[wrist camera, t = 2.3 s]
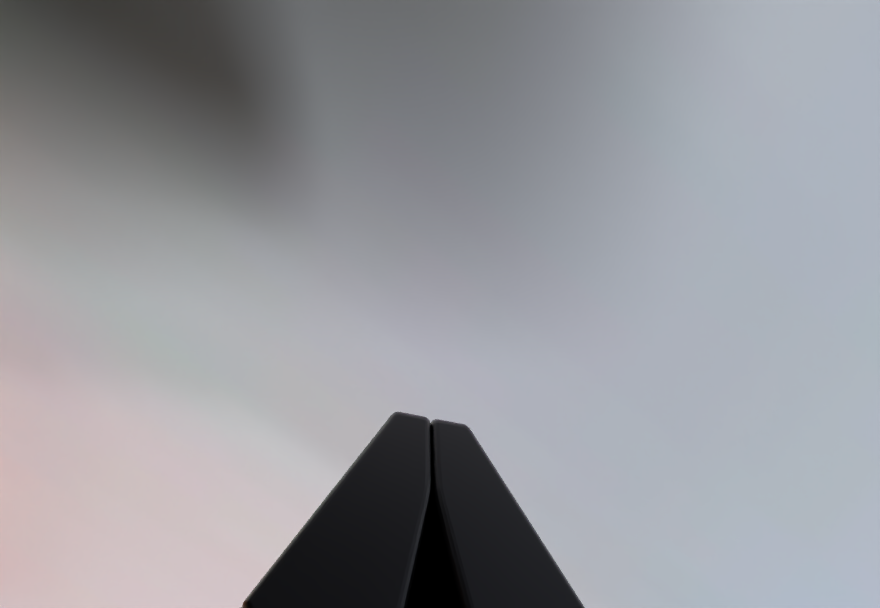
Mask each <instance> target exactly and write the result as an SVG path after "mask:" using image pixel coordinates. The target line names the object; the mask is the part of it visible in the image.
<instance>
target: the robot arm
mask: <svg viewBox="0 0 880 608" xmlns="http://www.w3.org/2000/svg"><path fill="white" fill-rule="evenodd" d="M241 608H584V606H583V604H582V603H581V601H580V600H579V598H578V597H577V595H576V594H575V592H574V590H573V589H572V587H571V586H570V584H569V583H568V581H567V580H566V578H565V576H564V575H563V573H562V572H561V570H560V569H559V567H558V565H557V564H556V562H555V561H554V559H553V558H552V556H551V555H550V553H549V551H548V550H547V548H546V547H545V545H544V544H543V542H542V541H541V539H540V537H539V536H538V534H537V533H536V531H535V530H534V528H533V526H532V525H531V523H530V522H529V520H528V519H527V517H526V516H525V514H524V512H523V511H522V509H521V508H520V506H519V505H518V503H517V502H516V500H515V498H514V497H513V495H512V494H511V492H510V491H509V489H508V487H507V486H506V484H505V483H504V481H503V480H502V478H501V477H500V475H499V473H498V472H497V470H496V469H495V467H494V466H493V464H492V463H491V461H490V459H489V458H488V456H487V455H486V453H485V452H484V450H483V448H482V447H481V445H480V444H479V442H478V441H477V439H476V438H475V436H474V434H473V433H472V431H471V430H470V428H469V427H467V426H466V425H464V424H460V423H454V422H449V421H444V420H439V419H435V420H433V421H432V422H431V423H430V421H429V420H428V419H427V418H426V417H423V416H418V415H413V414H408V413H402V412H395V413H394V414H392V415H391V416H390V418H389V419H388V420H387V421H386V423H385V424H384V425H383V426H382V428H381V429H380V430H379V431H378V433H377V434H376V435H375V437H374V438H373V439H372V440H371V442H370V443H369V444H368V445H367V447H366V448H365V449H364V450H363V452H362V453H361V454H360V456H359V457H358V458H357V459H356V461H355V462H354V463H353V464H352V466H351V467H350V468H349V469H348V471H347V472H346V473H345V474H344V476H343V477H342V478H341V480H340V481H339V482H338V483H337V485H336V486H335V487H334V488H333V490H332V491H331V492H330V493H329V495H328V496H327V497H326V499H325V500H324V501H323V502H322V504H321V505H320V506H319V507H318V509H317V510H316V511H315V512H314V514H313V515H312V516H311V517H310V519H309V520H308V521H307V523H306V524H305V525H304V526H303V528H302V529H301V530H300V531H299V533H298V534H297V535H296V536H295V538H294V539H293V540H292V542H291V543H290V544H289V545H288V547H287V548H286V549H285V550H284V552H283V553H282V554H281V555H280V557H279V558H278V559H277V560H276V562H275V563H274V564H273V566H272V567H271V568H270V569H269V571H268V572H267V573H266V574H265V576H264V577H263V578H262V579H261V581H260V582H259V583H258V585H257V586H256V587H255V588H254V590H253V591H252V592H251V593H250V595H249V596H248V597H247V598H246V600H245V601H244V603H243V606H242V607H241Z"/></svg>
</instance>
